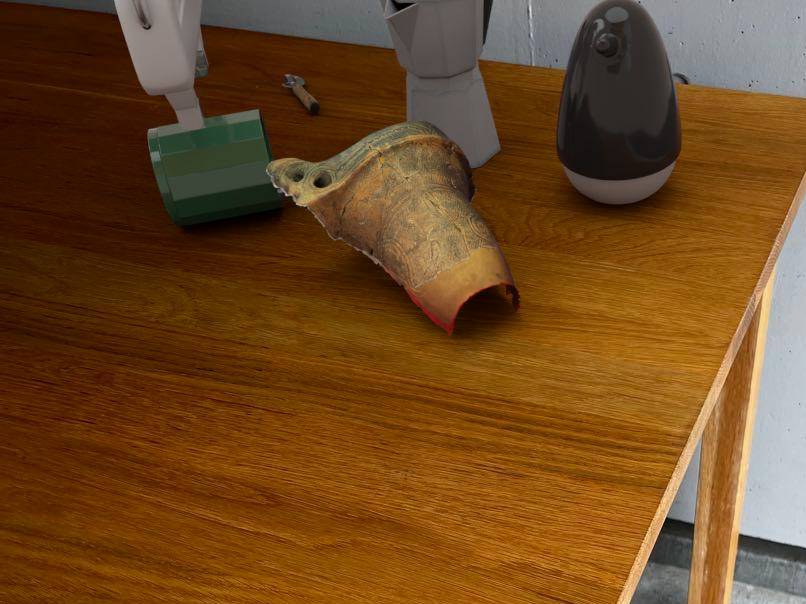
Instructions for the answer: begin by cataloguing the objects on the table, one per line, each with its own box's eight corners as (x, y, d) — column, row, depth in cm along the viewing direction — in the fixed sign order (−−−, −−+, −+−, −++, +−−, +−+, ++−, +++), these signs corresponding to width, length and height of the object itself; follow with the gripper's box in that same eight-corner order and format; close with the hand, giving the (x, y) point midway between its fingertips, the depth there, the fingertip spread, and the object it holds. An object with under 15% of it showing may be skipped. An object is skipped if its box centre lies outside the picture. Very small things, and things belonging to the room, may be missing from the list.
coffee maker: (453, 192, 90) (421, -33, 77) (373, 171, 93) (329, -48, 80) (544, 116, 98) (529, -99, 85) (467, 99, 102) (441, -111, 88)
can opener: (322, 112, 101) (319, 101, 101) (298, 118, 101) (295, 107, 100) (300, 77, 107) (297, 65, 106) (278, 82, 107) (275, 71, 106)
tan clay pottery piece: (396, 272, 66) (274, 88, 73) (352, 391, 75) (246, 217, 81) (597, 248, 77) (476, 88, 83) (539, 355, 85) (433, 202, 91)
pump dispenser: (544, 216, 86) (530, 26, 75) (575, 154, 93) (567, -30, 82) (667, 227, 84) (671, 33, 73) (690, 162, 91) (697, -26, 79)
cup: (146, 157, 82) (262, 136, 83) (147, 111, 87) (256, 92, 88) (179, 244, 87) (286, 224, 88) (178, 197, 93) (279, 178, 94)
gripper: (171, -45, 69) (233, 154, 79) (186, -137, 82) (237, 42, 92) (73, -31, 68) (148, 167, 78) (105, -126, 82) (165, 53, 92)
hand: (196, 99), depth 86 cm, fingers open, 8 cm apart
